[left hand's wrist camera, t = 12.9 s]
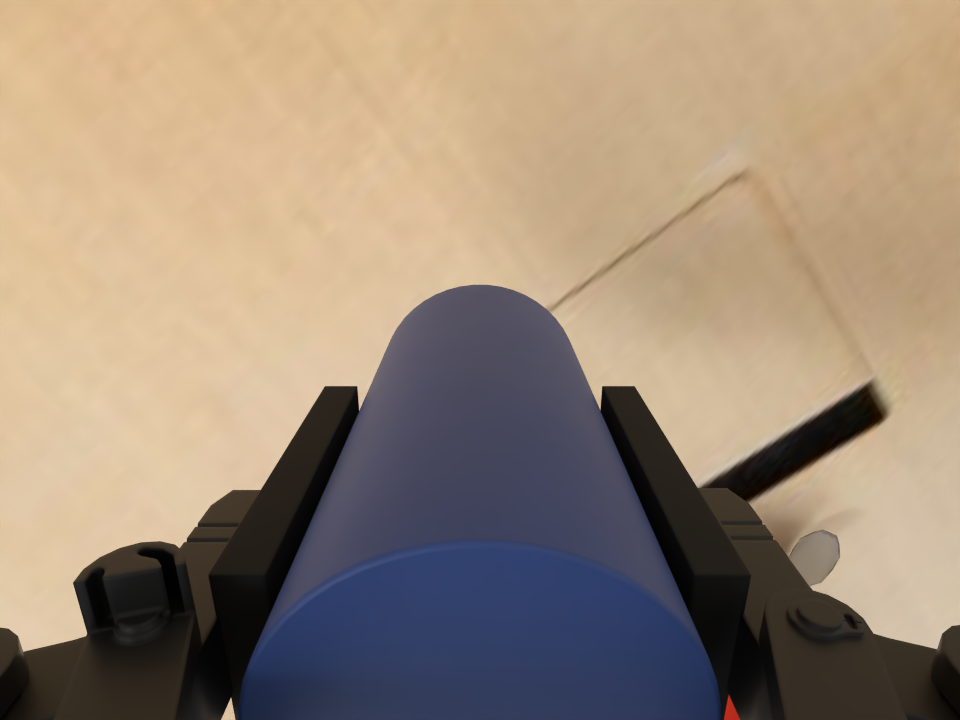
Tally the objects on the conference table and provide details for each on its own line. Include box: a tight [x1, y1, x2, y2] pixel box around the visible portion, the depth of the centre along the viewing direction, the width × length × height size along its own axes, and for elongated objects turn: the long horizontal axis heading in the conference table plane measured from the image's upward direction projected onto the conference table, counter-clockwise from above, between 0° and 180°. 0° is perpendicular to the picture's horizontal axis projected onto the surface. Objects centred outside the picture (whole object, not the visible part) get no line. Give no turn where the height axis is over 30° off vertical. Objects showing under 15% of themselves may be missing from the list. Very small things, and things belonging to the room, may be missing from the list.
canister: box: [238, 285, 721, 720], centre depth 13 cm, size 6×6×12 cm
